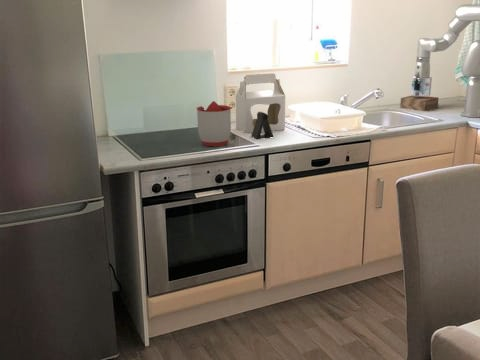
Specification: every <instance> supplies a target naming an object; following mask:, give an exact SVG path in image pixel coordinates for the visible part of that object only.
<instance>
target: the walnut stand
mask: <svg viewBox="0 0 480 360" xmlns="http://www.w3.org/2000/svg"><path fill="white" fill-rule="evenodd" d="M399 108H400V109H406V110H412V109H413V110H414V111H419V110H420V111H421V112H427V111H431V110H434V109H439V97H437V96H429V97H424V96H411V95H408V96H403V97H400V104H399ZM420 111H419V112H420Z"/></svg>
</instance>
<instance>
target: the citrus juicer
mask: <svg viewBox="0 0 480 360" xmlns="http://www.w3.org/2000/svg"><path fill="white" fill-rule="evenodd" d="M231 110H232V107H231V106H229V105H225V104H224V105H223V104H218V103H217V102H216V101H214V100H213V101H211V102H210V103H209V105H208V106H207V108H206V109H205V107H203V106H201V105H200V106H197V107H196V111H197V112H196V115H197V116H196V117H197V118H196V119H197V131H198V132H197V133H198V136H199V140H200V142H201V145H203V146H205V145H206V146H205V147H209V146H214V147H223V146H226V145H228V142H229V140H230V136H231V126H232V125H231V124H232V121H231V117H232V116H231Z"/></svg>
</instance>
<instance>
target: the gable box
mask: <svg viewBox="0 0 480 360" xmlns="http://www.w3.org/2000/svg"><path fill="white" fill-rule="evenodd" d="M243 79H244V80H243V81H240V84H239V88H238V90H237V92H236V93H235V129H236V128H237V130H238V129H239V131H240V130H241V131H240V132H242V131H243V132H242V133H243V134H245V133H248V134H252V133H253V129H254V126H255V123H256V120H257V118H254V117H253V115H252V112H251V109H252V107H253V106H255V105H265V106H267V105H268V109H267V111H266V112H267V113H266V114H267V115H268V122H269V125H270V128H271V131H272V132H275V130H277V131H284V130H283V129H285V130H286V95H285V93H284V90H283V88H282V86H281V80H280V79H277V78H276V73H261V74H260V73H258V74H255V73H254V74H246V75H245V76H244V77H243ZM267 83H268V84H274V87H273V88H274V89H271V90H258V91H247V90H246V89H247V85H254V84H255V85H258V84H259V85H260V84H267ZM261 133H264V129H263V127H262V131H261Z"/></svg>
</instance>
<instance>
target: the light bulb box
mask: <svg viewBox="0 0 480 360" xmlns="http://www.w3.org/2000/svg"><path fill="white" fill-rule="evenodd" d="M432 77H433V76H431V77H428V78H424V80H420V83H419V84H420V89H419V90H414V84H415V83H414V76H413V77H412V81H411V91H410V92H411V93H410V96H424V97H431V91H432V90H431V89H432V79H433V78H432Z"/></svg>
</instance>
